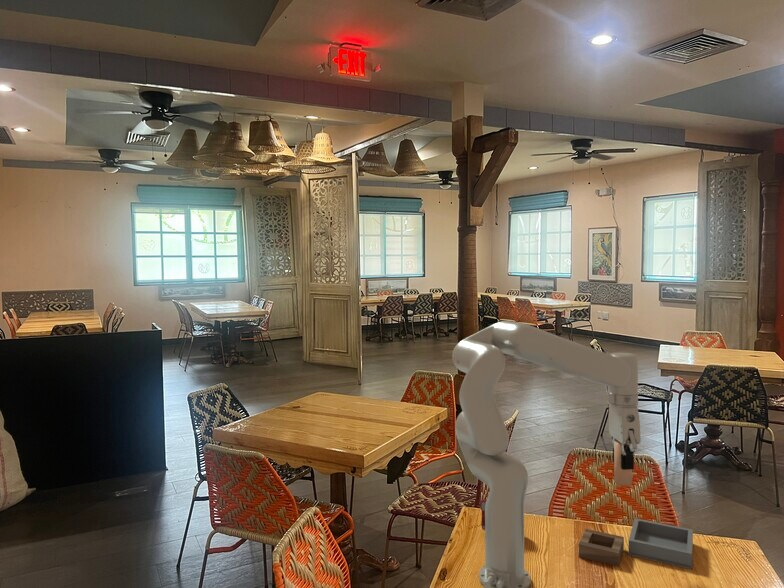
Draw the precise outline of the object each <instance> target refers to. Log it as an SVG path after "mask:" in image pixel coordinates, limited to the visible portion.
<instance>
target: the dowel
mask: <svg viewBox="0 0 784 588" xmlns="http://www.w3.org/2000/svg"><path fill="white" fill-rule="evenodd" d="M626 443H629V441H626ZM629 446H630V445H625V447H626V448H627V447H629ZM613 448H614V462H613V464H614V465H613V466H614V471H613V472H614V474H613V475H614V477H613V478H614V480H613V481H614V483H615V484H616V485H619V486H622V487H627V486H628V487H630V486H632V485H633V469H628V470H623V469H621V454H622V445H621V443H620V442H619V441H618V440H616V441H614V447H613Z"/></svg>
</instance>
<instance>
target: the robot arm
mask: <svg viewBox="0 0 784 588" xmlns="http://www.w3.org/2000/svg"><path fill="white" fill-rule="evenodd" d="M505 355H509V356H513V357H516V358H517V359H518V358H519V359H520V360H521V359H522V360H524V361H528V362H530V363H532V364H536V365H539V366H542V367H544V368H547V369H549V370H550V369H551V370H553V371H556V372H559V373H563V374H568V375H574V376H579V377H581V378H582V379H584V380H585V381H588V382H591V383H594V384H600V385H603V386H606V387H607V404H608V406H609V407H608V433H609V435H610V436H611V440H612V441H611V442H612V445H611V446H612V462H613V463H614V441H616V440H618V441H619V442H620V443H621V445H622V454H621V469H623V470H628V469H632V470H634V469H635V467H634V466H635V464H634V463H635V460H634V459H635V458H634V456H635V451H637V449H638V445H639V444H640V443H642V442H641V439H642V437H641V424H640V421H641V420H640V415H639V408H638V406H639V389H638V388H639V387H638V385H639V377H638V376H639V374H638V373H639V365H638V364H639V363H638V362H639V361H638V360H639V359H638V357H637V356H636V354H634V353H631V352H612V353H610V354H609V353H607V352H604V351H601V350H597V349H596V348H592V347H589V346H587V345H584V344H581V343H578V342H575V341H574V340H570V339H567V338H565V337H561V336H559V335H557V334H554V333H551V332H548V331H546V330H543V329H540V328H538V327H535V326H532V325H530V324H526V323H523V322H516V321H509V320H502V321H498V322H496V323H493V324H491V325H489V326H487V327H484V328H483V329H482V330H479V331H477V332H476V333H473V334H472V335H469V336H467V337H465V338H463V339H462V340H460V341H459V342H458V343H457V344H456V345H455V347H454V348H453V351H452V355H451V357H452V358H451V359H452V363H453V365H454V366H455V367H456V369H457V370H459V371H460V372H463V373H465V375H464V379H463V380H462V383H461V385H460V388H459V392H458V393H459V397H458V398H459V399H458V400H459V404H460V407H461V410H462V411H461V412H460V413H458V415H457V417H456V420H455V424H454V427H455V429H454V430H455V436H456V439H457V441H458V445H459V447H460V450H461V452H462V455H463V457H464V461H465V462H466V464H467V467H468V469H469V470H470V471H469V472H471V473H472V475H473V476H474V477H475V478H476V479H477V480H479V481H481V482H482V483H483V484H485V485H486V486H487V487H488V488H489V493H488V496H487V498H486V499H487V501H486V505H485V530H484V532H485V533H484V537H485V538H484V541H485V542H484V543H485V545H484V552H485V554H484V558H485V559H484V560H485V563H484V564H485V565H484V566H482V567H480V570H479V571H478V578H479V579H478V580H479V581H480V583H481V584H482V586H483V588H530V585H531V575H530V573H529V572H528V571H527V570H526V568H525V500H526V494H527V489H528V483H529V473H528V470H527V468H526V466H525V465H524V463H523V462H522V461H521V460H519V458H517V457H515V456H514V455H513V454H511V453H508V451H506V450H507V449H508V447H509V443H510V438H509V431H508V430H507V426H506V424H505V421H504V419H503V416H502V413H501V411H500V408H499V406H498V403H497V399H496V393H495V391H496V387H497V384H498V382H499V380H500V378H501V376H502V375H503V373H504V370H505V368H506V357H505ZM626 441H629V443H626ZM625 445H630V446H629V447H627V448H626V447H625Z"/></svg>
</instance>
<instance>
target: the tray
mask: <svg viewBox="0 0 784 588" xmlns="http://www.w3.org/2000/svg"><path fill="white" fill-rule="evenodd" d="M693 543H694V529H693V528H686V527H681V526H677V525H671V524H667V523H662V522H656V521H650V520H645V519H640V518H636V517H635V518H634V520H633V523H632V526H631V530H630V535H629V538H628V552H627V553H628V554H627V555H628V556H633V557H636V558H641V559H645V560H648V561H655V562H659V563H663V564H667V565H673V566H676V567H681V568H683V569H684V568H685V569H689V570H693V552H694V551H693V548H694V545H693ZM692 551H693V552H692Z"/></svg>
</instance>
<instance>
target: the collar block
mask: <svg viewBox="0 0 784 588" xmlns="http://www.w3.org/2000/svg"><path fill="white" fill-rule="evenodd" d="M624 537H625V536H621V535H617V534H612V533H607V532H602V531H598V530H594V529H588V528H585V529H584V532H583V534H582V536H581V539H580V541H579V543H578V558H582V559H585V560H590V561H594V562H599V563H602V564H607V565H611V566H614V567H619V566H620V563H621V561H622V557H623V553H624V546H625V544H624V543H625V538H624Z"/></svg>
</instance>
